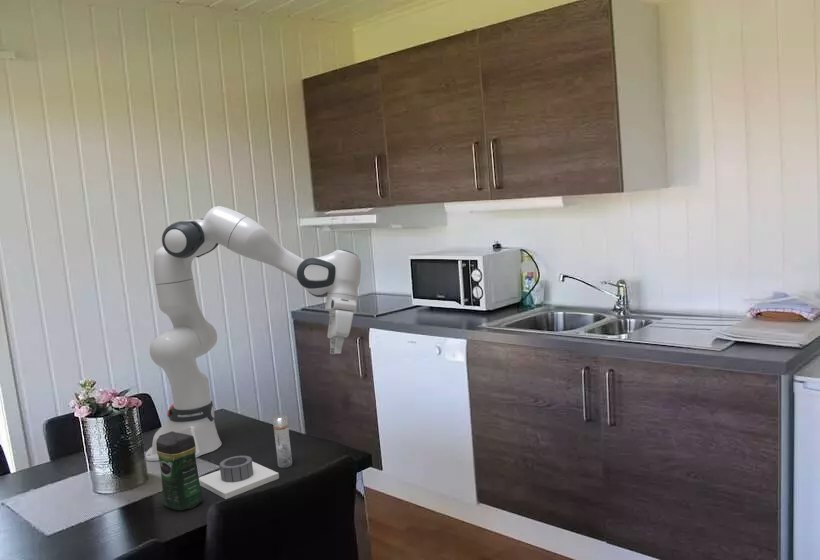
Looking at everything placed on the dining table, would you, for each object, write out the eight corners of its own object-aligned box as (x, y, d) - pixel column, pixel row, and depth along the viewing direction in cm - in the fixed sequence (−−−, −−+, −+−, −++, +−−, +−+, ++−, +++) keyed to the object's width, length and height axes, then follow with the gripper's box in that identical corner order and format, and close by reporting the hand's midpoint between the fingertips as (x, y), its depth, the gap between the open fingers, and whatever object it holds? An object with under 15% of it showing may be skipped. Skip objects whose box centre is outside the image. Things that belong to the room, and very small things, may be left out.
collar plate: (225, 499, 179) (223, 478, 178) (197, 483, 191) (194, 464, 190) (279, 478, 190) (276, 458, 189) (249, 464, 201) (246, 446, 201)
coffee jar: (208, 501, 179) (199, 431, 176) (181, 514, 172) (172, 442, 170) (185, 494, 184) (176, 426, 182) (158, 506, 178) (149, 436, 176)
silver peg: (277, 468, 197) (271, 420, 195) (278, 462, 201) (273, 415, 199) (291, 466, 197) (286, 418, 195) (293, 461, 201) (287, 414, 199)
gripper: (325, 307, 211) (319, 353, 209) (335, 301, 191) (328, 351, 189) (346, 310, 212) (340, 355, 210) (357, 304, 193) (351, 354, 191)
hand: (335, 353), depth 200 cm, fingers open, 8 cm apart
